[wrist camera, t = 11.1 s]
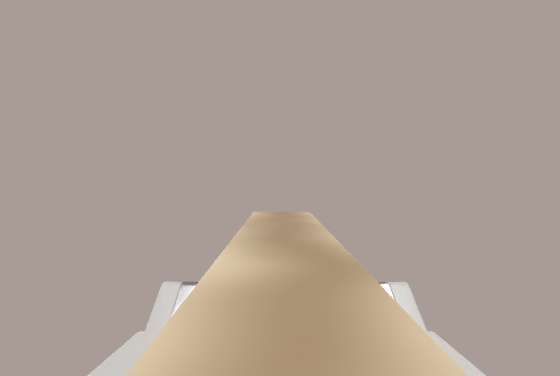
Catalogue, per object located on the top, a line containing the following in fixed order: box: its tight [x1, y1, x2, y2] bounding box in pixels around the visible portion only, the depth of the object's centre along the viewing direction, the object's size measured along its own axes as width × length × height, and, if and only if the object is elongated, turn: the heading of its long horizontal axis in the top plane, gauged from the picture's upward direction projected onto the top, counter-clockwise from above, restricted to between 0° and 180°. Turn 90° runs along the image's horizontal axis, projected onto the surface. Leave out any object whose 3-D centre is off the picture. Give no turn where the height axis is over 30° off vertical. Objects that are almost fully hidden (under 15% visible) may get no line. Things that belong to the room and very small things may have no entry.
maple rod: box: [126, 212, 467, 376], centre depth 14 cm, size 4×20×4 cm, turn 0°
